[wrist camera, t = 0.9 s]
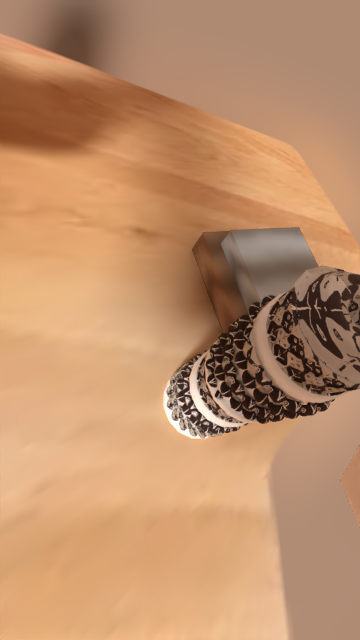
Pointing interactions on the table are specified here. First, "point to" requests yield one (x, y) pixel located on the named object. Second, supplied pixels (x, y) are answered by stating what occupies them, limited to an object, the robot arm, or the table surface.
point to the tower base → (218, 278)
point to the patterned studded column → (274, 359)
